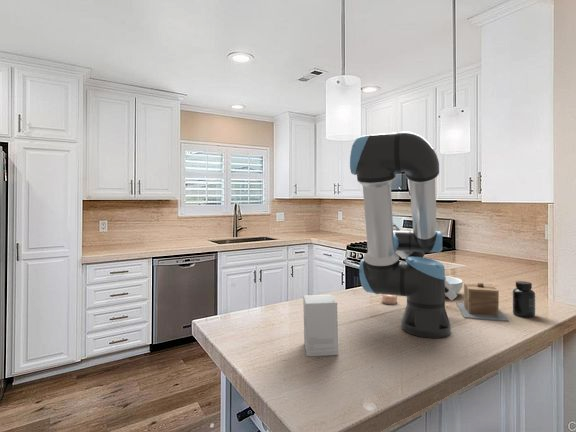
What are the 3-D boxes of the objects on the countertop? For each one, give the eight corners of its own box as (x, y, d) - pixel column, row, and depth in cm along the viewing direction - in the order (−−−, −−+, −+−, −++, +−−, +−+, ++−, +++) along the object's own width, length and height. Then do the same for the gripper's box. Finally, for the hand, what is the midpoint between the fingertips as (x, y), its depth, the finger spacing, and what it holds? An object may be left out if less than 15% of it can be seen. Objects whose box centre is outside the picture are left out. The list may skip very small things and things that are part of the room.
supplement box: (333, 342, 103) (332, 293, 103) (338, 355, 94) (338, 302, 94) (303, 343, 103) (302, 294, 102) (306, 356, 94) (305, 303, 93)
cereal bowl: (451, 302, 141) (451, 285, 141) (414, 294, 154) (414, 278, 153) (469, 294, 152) (469, 278, 151) (433, 287, 165) (433, 273, 164)
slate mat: (509, 321, 118) (509, 320, 118) (464, 317, 122) (464, 316, 122) (495, 306, 135) (495, 305, 135) (456, 303, 139) (456, 302, 139)
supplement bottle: (530, 312, 126) (531, 280, 126) (538, 318, 120) (539, 285, 119) (509, 311, 128) (509, 279, 128) (516, 317, 122) (516, 284, 121)
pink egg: (397, 304, 139) (397, 297, 138) (381, 303, 140) (381, 296, 140) (397, 300, 144) (397, 293, 144) (382, 299, 146) (382, 292, 146)
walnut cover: (498, 315, 122) (498, 287, 122) (468, 313, 125) (468, 285, 125) (491, 307, 132) (491, 281, 131) (463, 305, 135) (464, 280, 134)
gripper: (418, 251, 122) (464, 295, 118) (417, 242, 146) (455, 279, 141) (403, 265, 124) (448, 309, 120) (404, 254, 148) (441, 291, 143)
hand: (452, 293), depth 131 cm, fingers open, 13 cm apart
